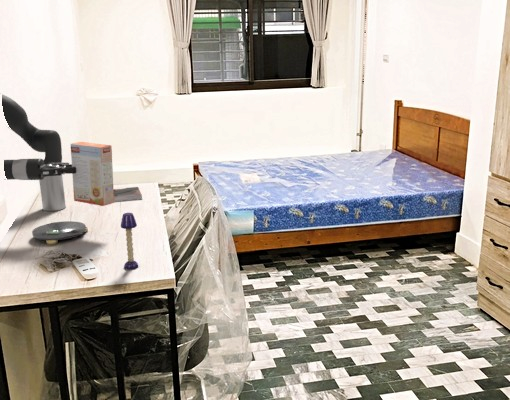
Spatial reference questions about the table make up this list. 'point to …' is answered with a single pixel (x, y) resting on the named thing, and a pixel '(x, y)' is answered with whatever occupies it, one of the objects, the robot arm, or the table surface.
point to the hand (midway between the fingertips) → (77, 168)
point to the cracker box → (92, 173)
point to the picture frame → (127, 194)
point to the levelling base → (59, 231)
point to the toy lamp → (129, 238)
